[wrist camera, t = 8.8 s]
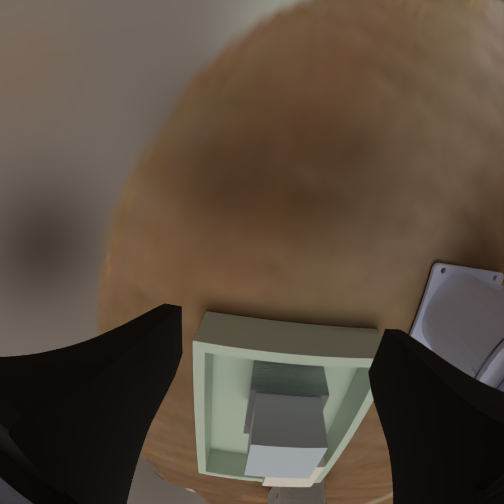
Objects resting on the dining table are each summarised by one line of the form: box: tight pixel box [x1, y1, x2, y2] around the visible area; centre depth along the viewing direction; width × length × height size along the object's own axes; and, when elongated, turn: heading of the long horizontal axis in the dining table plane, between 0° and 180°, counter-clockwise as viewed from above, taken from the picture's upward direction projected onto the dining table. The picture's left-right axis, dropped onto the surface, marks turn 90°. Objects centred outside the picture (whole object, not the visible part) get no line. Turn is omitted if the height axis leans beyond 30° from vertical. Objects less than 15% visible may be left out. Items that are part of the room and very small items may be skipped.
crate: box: [193, 311, 382, 483], centre depth 22 cm, size 14×20×4 cm
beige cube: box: [262, 455, 325, 487], centre depth 22 cm, size 5×5×5 cm
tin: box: [243, 360, 329, 434], centre depth 20 cm, size 6×6×4 cm
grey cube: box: [244, 393, 328, 478], centre depth 16 cm, size 4×4×4 cm
